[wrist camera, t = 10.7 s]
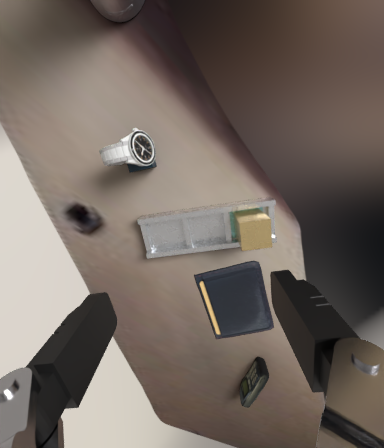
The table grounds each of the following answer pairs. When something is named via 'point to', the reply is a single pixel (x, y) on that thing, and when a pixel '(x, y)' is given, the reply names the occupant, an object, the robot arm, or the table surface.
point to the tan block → (252, 229)
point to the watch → (131, 152)
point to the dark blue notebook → (235, 300)
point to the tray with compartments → (198, 228)
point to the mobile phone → (253, 382)
